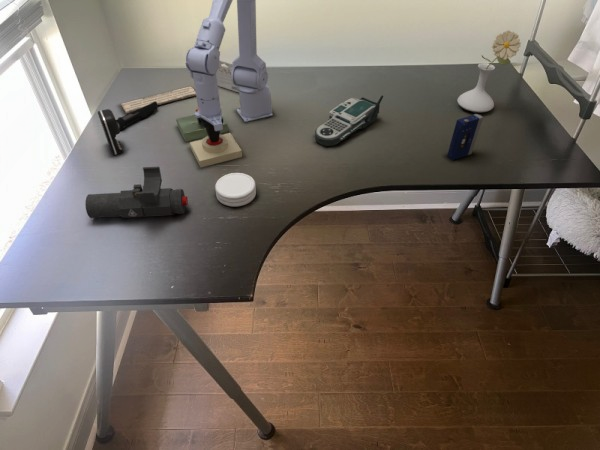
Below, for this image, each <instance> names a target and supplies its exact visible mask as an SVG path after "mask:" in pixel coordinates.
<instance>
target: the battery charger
mask: <svg viewBox="0 0 600 450" xmlns="http://www.w3.org/2000/svg"><path fill="white" fill-rule="evenodd" d="M97 115H98V118H99V121H100V124H101V127H102V129H103V131H104V132H103V133H104V135H105V139H106V141H107V144H108V147H109V149H110V152H111V154H112V155H113V156H116V155H119V154H122V153H123V152H124V148H123V145H122V144H121V141H120V140H118V139H116V137H117V135H119V134H120V133H121V130H119V127H118V124H117V122H116V120H117V119H116V117H115V114H114V112H113V111H112V110H111V109H109V108H107V109H103V110H102V109H100V110H98V111H97Z"/></svg>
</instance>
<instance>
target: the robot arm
mask: <svg viewBox="0 0 600 450" xmlns="http://www.w3.org/2000/svg"><path fill="white" fill-rule="evenodd" d="M256 2H257V1H256V0H236V9H237V10H236V11H237V13H236V14H237V34H238V35H237V37H238V56H237V57H235V58H234V59H233V61H232V63H231V64H232V72H231V79H232V82H233V84H234V85H236V89H239V93H238V96H239V108H237V109H236V112H237V113H238V115H239V116H240V117H241V119H242V121H243V122H245V123H246V122H247V123H248V122H251V121H257V120H260V119H265V118H268V117H272V116H273V115H274V114H273V111H272V94H271V90H270V87H269V86H268V78H269V74H268V69H267V64H266V62H265V60H263V59H262V58H261V57H260V56H258V54H257V52H258V51H257V50H258V48H257V45H258V44H257V3H256ZM232 4H233V0H212V3H211V8H210V11H209V16H208V17H205V18H203V19H202V21H201V24H200V29H199V30H198V34H197V37H196V39H195V43H194V45H193V46H192V47H191V48H189V49H188V50H187V52H186V56H185V67H186V69H187V70H188V71H189V75H190V78H191V79H193V84H194V88H195V89H194V90H195V92H196V95H195V97H196V103H197V109H199V110H198V112H196V111H195V112H194V115H195V116H196V117H197V118H199V119H200V121H201V122H202V124H203V125H204V127H205V129H206V131H207V134H208V137H209V139H210V141H211V142H212V143H213V142H217V141H219V135H221V134H220V130H223V126H222V124H223V118H224V117H223V110H222V108H221V101H220V93H219V86H218V84H217V76H216V72H217V70H218V68H219V62H220V61H221V60H220V56H221V51H220V48H221V45H222V42H223V39H224V35H225V33H226V27H225V25H224V22H225V19H226V17H227V15H228V12H229V10H230V9H231V6H232ZM222 117H223V118H222Z"/></svg>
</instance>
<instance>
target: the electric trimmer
mask: <svg viewBox="0 0 600 450" xmlns="http://www.w3.org/2000/svg"><path fill="white" fill-rule="evenodd" d="M158 106H159V105H157V102H153V103H151V104H148V105H146V106H144V107H142V108H140V109H138V110H136V111H133V112H130V113H127V114H125V115H123V116H120V117H119V116H118V118H117V119H116V122H117V124H118V127H119V130H120V131H123V130H124V129H125V127H127V126H129V125H131V124H133V123H135V122H136V121H138V120H140V119H145V118H147V117H149V116H150V115H151V114H152V113H154V112H155V111H157V110H158V108H159V107H158Z"/></svg>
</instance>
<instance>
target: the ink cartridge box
mask: <svg viewBox="0 0 600 450" xmlns="http://www.w3.org/2000/svg"><path fill="white" fill-rule="evenodd" d="M223 65H225V66H223ZM226 66H227V67H226ZM231 72H232V63H230V62H227V61H222V60H220V62H219V68H218V70H217V72H216V76H217V84H218V87H220V88H223V89H227V90H229V91H233V92H235V93H238V94H239V89H236V85H234V84H233V82H232V79H231Z"/></svg>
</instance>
